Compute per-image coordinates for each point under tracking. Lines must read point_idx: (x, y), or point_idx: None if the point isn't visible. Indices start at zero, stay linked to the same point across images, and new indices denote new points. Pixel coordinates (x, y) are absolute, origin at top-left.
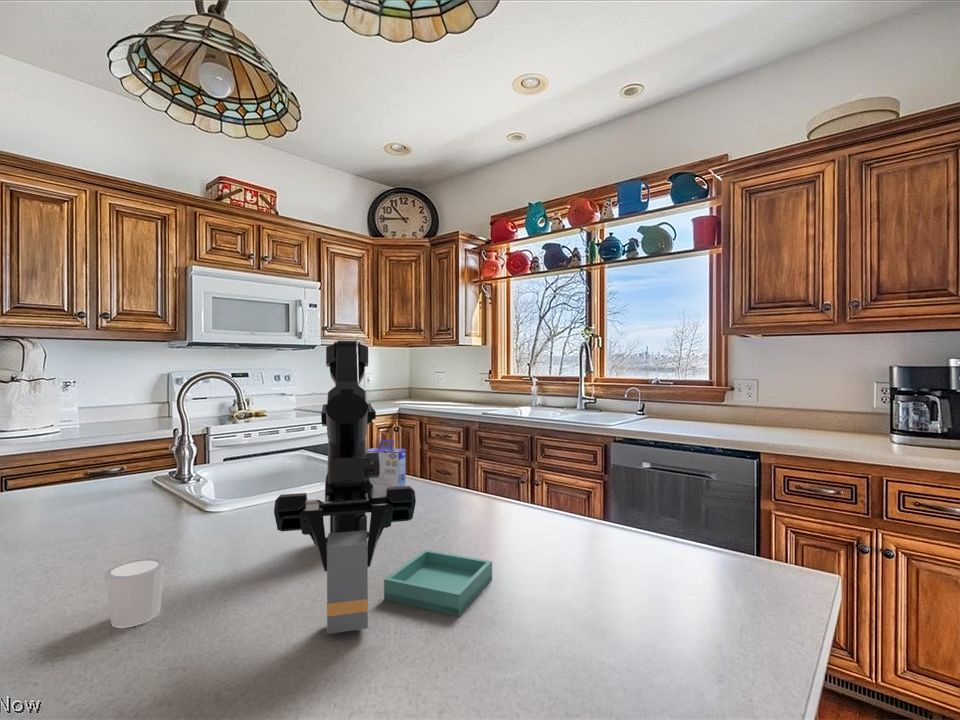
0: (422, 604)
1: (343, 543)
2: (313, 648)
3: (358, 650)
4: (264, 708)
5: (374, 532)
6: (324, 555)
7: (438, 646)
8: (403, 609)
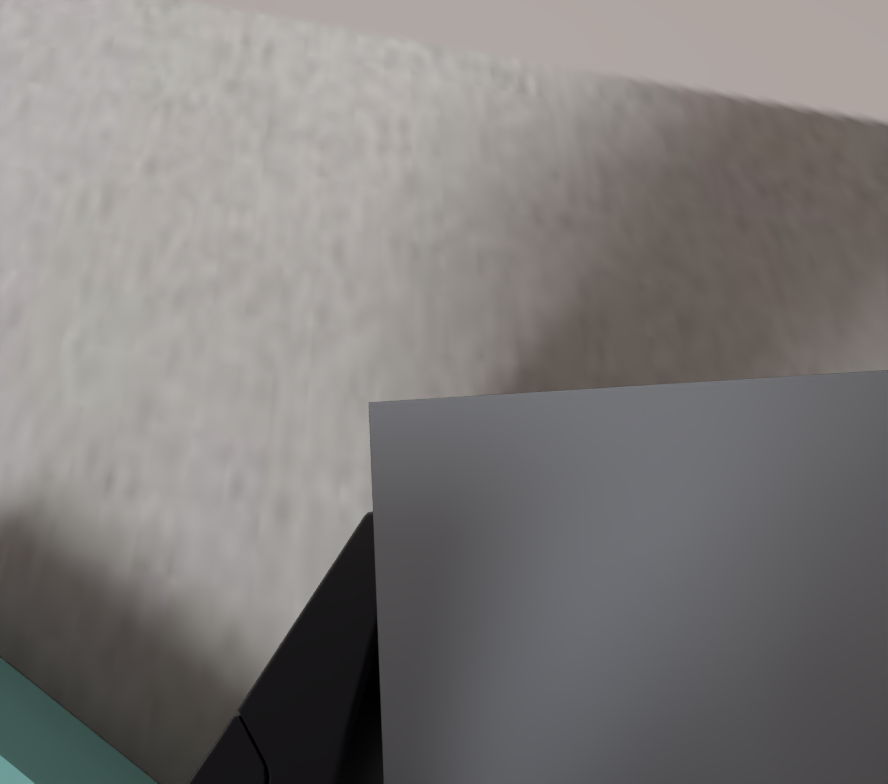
0: (97, 750)
1: (704, 471)
2: None
3: (458, 393)
4: (761, 113)
5: (248, 771)
6: None
7: (103, 354)
8: None
